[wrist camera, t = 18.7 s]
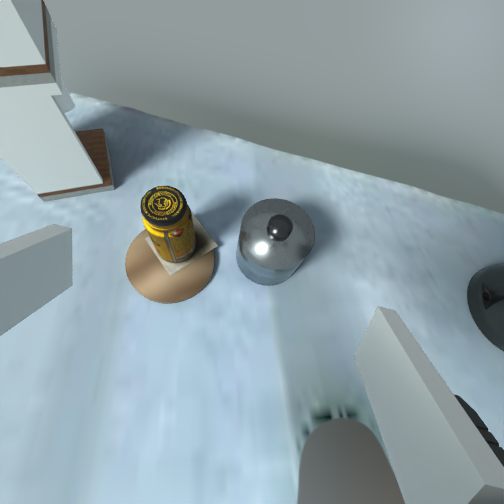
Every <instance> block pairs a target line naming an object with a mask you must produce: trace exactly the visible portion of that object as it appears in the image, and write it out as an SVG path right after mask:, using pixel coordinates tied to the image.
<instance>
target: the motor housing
mask: <svg viewBox="0 0 504 504" xmlns="http://www.w3.org/2000/svg"><path fill="white" fill-rule="evenodd" d="M314 240H315V231H314V227H313V224H312V221H311V219H310V218H309V216H308V215H307V214H306V212H305V211H304V210H303V209H301V208H300V207H299V206H297V205H296V204H294V203H292V202H290V201H287V200H283V199H266V200H262V201H260V202H258V203H256V204H254V205H253V206H251V207H250V208H249V209H248V211H247V212H246V213H245V215H244V217H243V220H242V223H241V229H240V234H239V240H238V245H237V251H236V259H237V263H238V266H239V268H240V270H241V271H242V273H243V274H244V275H245V276H246V277H247V278H248V279H250V280H251V281H253V282H255V283H257V284H260V285H268V286H270V285H277V284H280V283H282V282H284V281H285V280H287V279H288V278H289V277H290V276H291V275H292V274H293V272H294V271H295V270H296V269H297V267H298V266H299V265H300V264H301V262H302V261H303V260H304V259H305V257H306V256H307V255H308V254H309V252H310V251H311V249H312V247H313V244H314Z"/></svg>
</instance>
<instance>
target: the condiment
mask: <svg viewBox="0 0 504 504" xmlns="http://www.w3.org/2000/svg"><path fill="white" fill-rule="evenodd" d="M141 213H142V215H143V223H144V226H145V228H146V230H147V232H148V234H149V237H147V238H145V240H146V241H147V243H148V244H149V246H150V247H151V249H152V250H153V252H154V253H155V255H156V256H157V257H158V259H159V260H160V262H161V263H162V265H163V266H164V268H165V269H166V271H167V272H168V274H169V275H172V274H174V273H175V272H177V271H179V270H180V269H182V268H183V267H185V266H187V265H189V264H190V263H192V262H193V261H195V260H196V259H198V258H199V257H201V256H203V255H204V254H206V253H208V252H209V251H211V250H212V249H214V248H215V247H217V244H216V243H215V242H214V241H213V239H212V238H211V237H210V235H209V234H208V233H207V231H206V230H205V229H204V227H203V226H202V225H201V223H200V222H199V221H198V219H197V218H196V217H195V215H194V214H193V213H191V210H190V208H189V206H188V205H187V202H186V199H185V197H184V195H183V194H182V193H181V192H180V191H179V190H178V189H176V188H173V187H170V186H158V187H155V188H153V189H151V190H149V191H148V192H147V193H146V194H145V195H144V197H142V200H141Z"/></svg>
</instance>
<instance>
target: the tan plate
mask: <svg viewBox="0 0 504 504" xmlns="http://www.w3.org/2000/svg"><path fill="white" fill-rule="evenodd" d="M147 237H149V234H148V232H147V230H146V229H145V230H144V231H142V232H141V233H140V234H139V235H138V236H137V237H136V238H135V239H134V240H133V242H132V243H131V245H130V247H129V249H128V252H127V255H126V262H125V266H126V273H127V276H128V279H129V281H130V282H131V284H132V285H133V287H134V288H135V289H136V290H137V291H138V292H139V293H140V294H141V295H143V296H144V297H146V298H148V299H150V300H152V301H155V302H159V303H177V302H182V301H185V300H187V299H189V298H191V297H193V296H195V295H196V294H198V293H199V292H200V291H201V290H202V289H203V288H204V287H205V286H206V284H207V283H208V282H209V280H210V278H211V275H212V273H213V269H214V252H213V249H212V250H211V251H209V252H208V253H206V254H204V255H203V256H201V257H199V258H198V259H196V260H195V261H193V262H192V263H190V264H189V265H187V266H185V267H183V268H182V269H180V270H179V271H177V272H175V273H174V274H172V275H169V274H168V272H167V271H166V269H165V268H164V266H163V265H162V263H161V262H160V260H159V259H158V257H157V256H156V255H155V253H154V252H153V250H152V249H151V247H150V246H149V244H148V243H147V241H146V240H145V238H147Z"/></svg>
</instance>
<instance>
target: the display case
mask: <svg viewBox="0 0 504 504" xmlns="http://www.w3.org/2000/svg"><path fill="white" fill-rule="evenodd" d="M74 107H75V104H74V103H73V101H72V99H71V97H70V95H69V93H68V91H67V89H66V87H65V86H64V84H63V82H62V80H61V74H60V64H59V52H58V42H57V31H56V27H55V25H54V23H53V21H52V18H51V16H50V14H49V12H48V10H47V8H46V5H45V4H44V1H43V0H0V158H1V159H2V160H3V161H4V162H5V163H6V164H7V165H8V166H9V167H10V168H11V169H12V170H13V171H14V172H15V173H16V174H17V175H18V176H19V177H20V178H21V179H22V180H23V181H24V182H25V183H26V184H27V185H28V186H29V187H30V188H31V189H32V190H33V191H34V192H35V193H36V194H37V195H38V196H39V197H40V198H41V199H42V200H43V201H50V200H56V199H62V198H68V197H73V196H79V195H85V194H91V193H97V192H103V191H109V190H115V187H114V181H113V174H112V168H111V162H110V155H109V149H108V143H107V137H106V135H105V133H104V131H103V129H95V130H87V131H79V132H75V131H74V129H73V128H72V126H71V124H70V123H69V121H68V119H67V117H66V116H65V114H64V113H66V112H68V111H70V110H72V109H73V108H74Z"/></svg>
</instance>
